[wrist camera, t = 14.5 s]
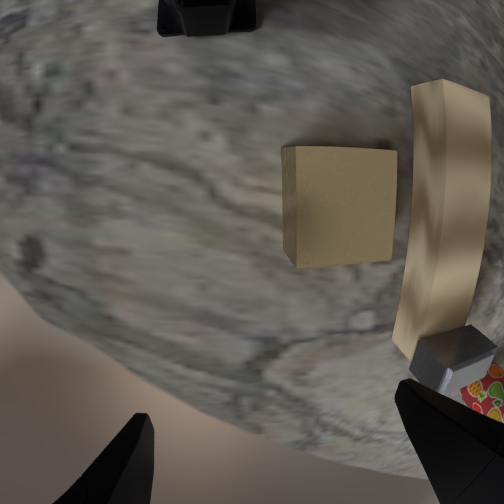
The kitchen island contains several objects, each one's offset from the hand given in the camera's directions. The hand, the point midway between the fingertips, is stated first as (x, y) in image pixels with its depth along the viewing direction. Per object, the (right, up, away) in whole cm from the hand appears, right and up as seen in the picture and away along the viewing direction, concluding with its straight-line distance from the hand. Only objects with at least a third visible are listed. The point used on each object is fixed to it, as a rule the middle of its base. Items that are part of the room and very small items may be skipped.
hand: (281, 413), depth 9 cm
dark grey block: (+15, -3, +12) cm, 19 cm away
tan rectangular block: (+4, +9, +12) cm, 15 cm away
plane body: (+14, +8, +13) cm, 21 cm away
